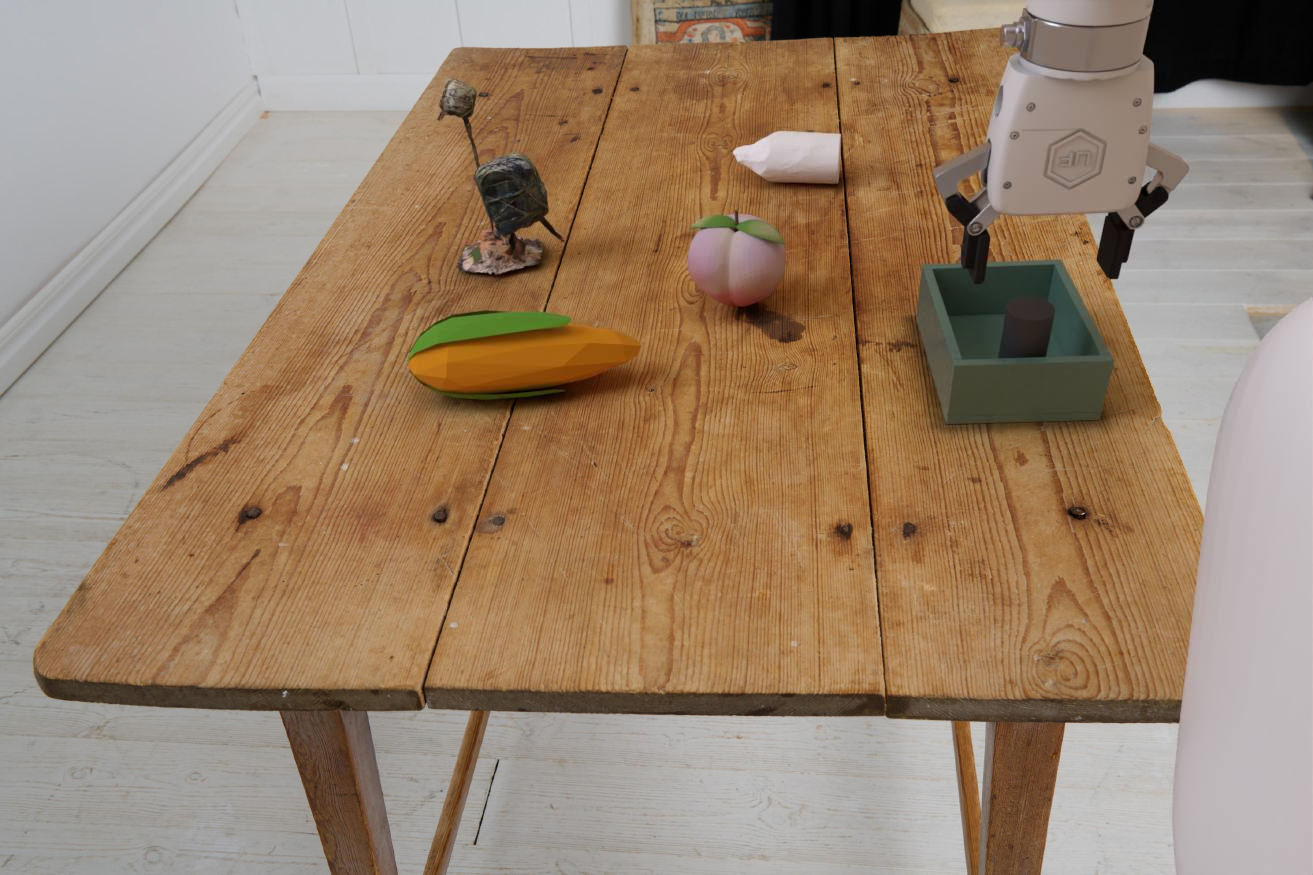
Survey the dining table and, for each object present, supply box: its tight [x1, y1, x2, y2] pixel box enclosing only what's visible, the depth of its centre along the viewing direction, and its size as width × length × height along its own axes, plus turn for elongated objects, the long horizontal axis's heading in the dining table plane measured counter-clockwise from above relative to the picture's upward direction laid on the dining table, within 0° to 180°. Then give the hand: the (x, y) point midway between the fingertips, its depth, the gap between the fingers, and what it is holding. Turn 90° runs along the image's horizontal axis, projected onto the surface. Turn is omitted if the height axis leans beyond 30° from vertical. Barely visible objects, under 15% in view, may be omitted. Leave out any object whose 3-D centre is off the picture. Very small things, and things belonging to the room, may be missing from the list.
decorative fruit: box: [686, 209, 787, 308], centre depth 99 cm, size 9×8×10 cm
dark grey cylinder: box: [998, 296, 1055, 359], centre depth 85 cm, size 4×4×8 cm
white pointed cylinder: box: [732, 130, 842, 185], centre depth 120 cm, size 6×12×6 cm, turn 79°
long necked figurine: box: [436, 77, 566, 276], centre depth 105 cm, size 8×11×20 cm
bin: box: [915, 259, 1115, 425], centre depth 90 cm, size 16×12×6 cm
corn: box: [407, 309, 642, 401], centre depth 91 cm, size 7×8×20 cm
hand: (1040, 273), depth 79 cm, fingers open, 9 cm apart
